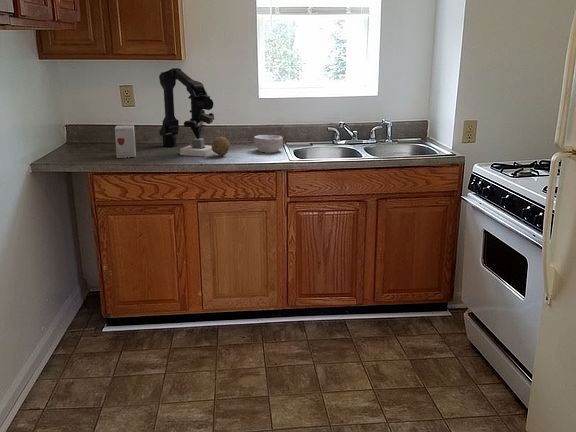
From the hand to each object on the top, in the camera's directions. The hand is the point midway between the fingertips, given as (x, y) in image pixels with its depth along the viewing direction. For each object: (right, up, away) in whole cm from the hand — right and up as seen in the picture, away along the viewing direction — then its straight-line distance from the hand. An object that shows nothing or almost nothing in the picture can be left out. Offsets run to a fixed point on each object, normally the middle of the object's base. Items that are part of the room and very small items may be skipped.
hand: (198, 138), depth 285 cm
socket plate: (0, -7, +2) cm, 8 cm away
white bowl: (+36, -6, +9) cm, 38 cm away
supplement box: (-35, -10, -7) cm, 37 cm away
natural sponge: (+12, -10, -5) cm, 16 cm away
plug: (0, -6, +2) cm, 6 cm away
